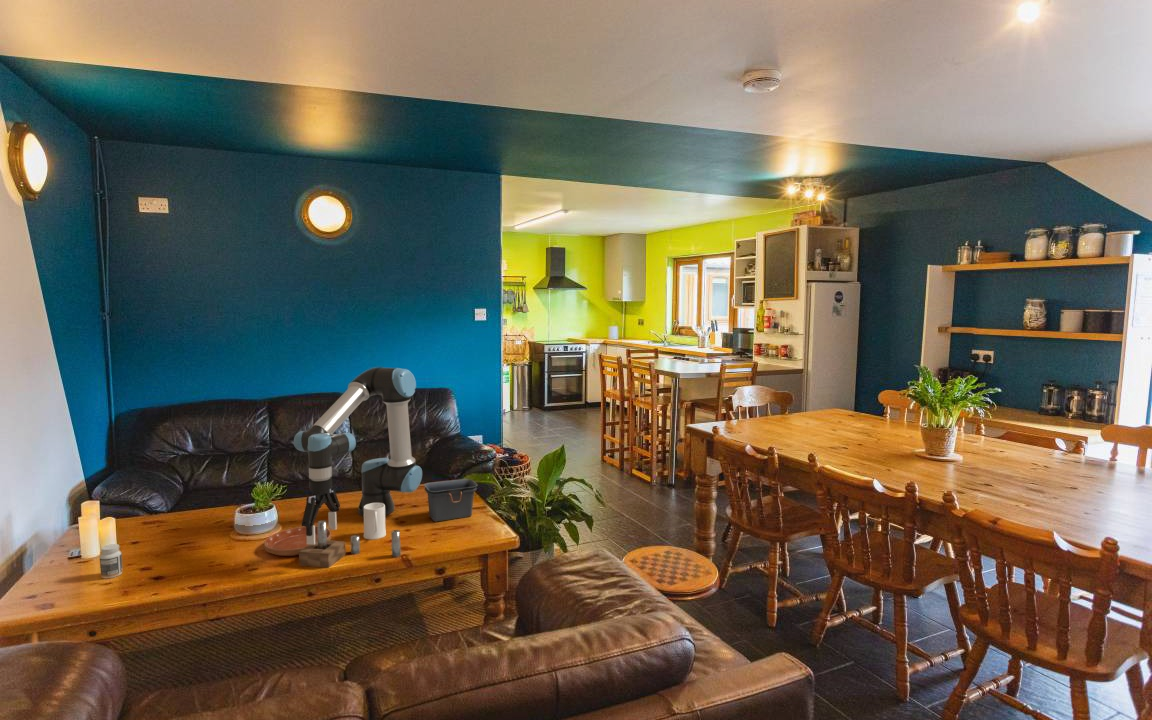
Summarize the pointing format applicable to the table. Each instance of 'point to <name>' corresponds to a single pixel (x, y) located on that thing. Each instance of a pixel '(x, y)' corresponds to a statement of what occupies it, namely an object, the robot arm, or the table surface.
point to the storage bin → (450, 499)
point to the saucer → (289, 541)
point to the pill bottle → (111, 561)
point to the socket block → (322, 554)
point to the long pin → (322, 534)
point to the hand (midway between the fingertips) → (322, 536)
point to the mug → (374, 521)
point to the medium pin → (396, 543)
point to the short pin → (355, 544)
